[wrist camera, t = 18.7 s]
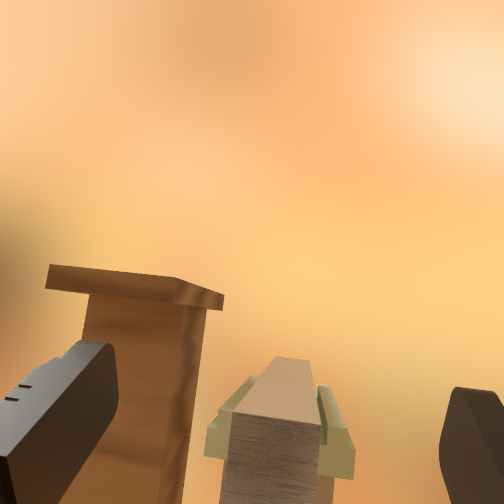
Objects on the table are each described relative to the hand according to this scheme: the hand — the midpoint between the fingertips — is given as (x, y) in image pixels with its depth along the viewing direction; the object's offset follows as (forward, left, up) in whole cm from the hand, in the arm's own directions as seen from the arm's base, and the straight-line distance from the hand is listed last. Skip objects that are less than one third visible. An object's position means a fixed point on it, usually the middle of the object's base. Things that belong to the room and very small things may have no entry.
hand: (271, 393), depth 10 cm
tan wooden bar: (+14, +9, -5) cm, 17 cm away
